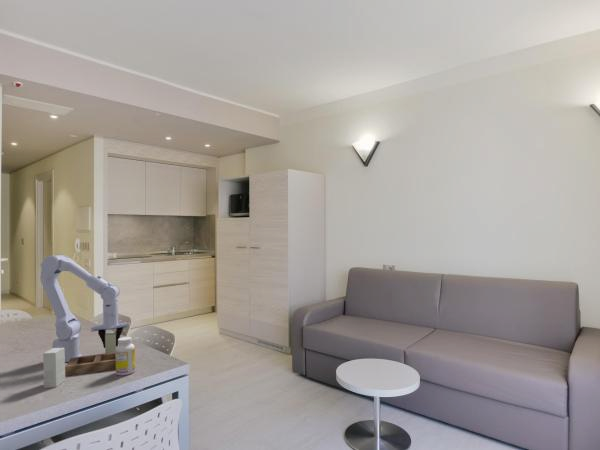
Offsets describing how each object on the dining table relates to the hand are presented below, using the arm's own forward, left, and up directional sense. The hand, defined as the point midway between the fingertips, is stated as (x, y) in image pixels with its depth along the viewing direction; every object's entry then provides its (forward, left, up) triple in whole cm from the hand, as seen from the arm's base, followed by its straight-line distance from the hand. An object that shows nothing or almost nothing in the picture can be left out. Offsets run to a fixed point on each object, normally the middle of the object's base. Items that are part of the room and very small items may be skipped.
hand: (110, 346), depth 162 cm
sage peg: (0, 0, -2) cm, 2 cm away
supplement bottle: (+7, -22, -5) cm, 24 cm away
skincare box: (-16, -24, -5) cm, 29 cm away
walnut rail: (-4, -11, -4) cm, 12 cm away
